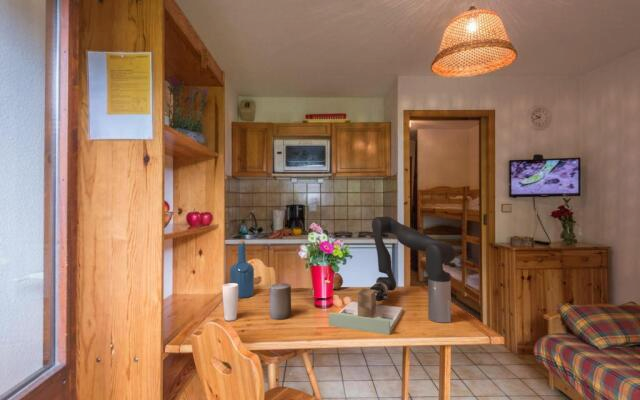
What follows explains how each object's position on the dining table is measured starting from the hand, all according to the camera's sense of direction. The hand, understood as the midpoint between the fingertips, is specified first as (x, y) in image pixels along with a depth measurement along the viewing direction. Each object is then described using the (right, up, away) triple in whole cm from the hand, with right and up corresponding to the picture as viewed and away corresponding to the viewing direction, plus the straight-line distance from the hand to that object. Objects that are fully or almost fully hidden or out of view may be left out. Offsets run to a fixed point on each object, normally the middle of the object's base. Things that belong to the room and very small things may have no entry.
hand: (369, 300), depth 152 cm
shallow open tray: (-1, -7, -2) cm, 7 cm away
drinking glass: (-61, -7, -3) cm, 62 cm away
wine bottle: (-65, -8, +34) cm, 74 cm away
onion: (-14, -8, +47) cm, 49 cm away
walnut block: (-2, -5, -4) cm, 6 cm away
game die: (-22, -8, +27) cm, 36 cm away
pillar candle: (-40, -7, +1) cm, 41 cm away
